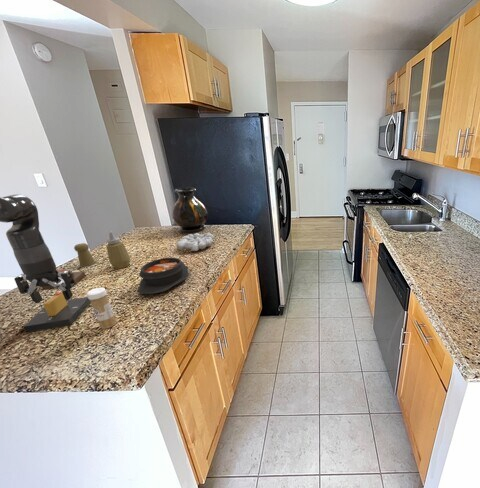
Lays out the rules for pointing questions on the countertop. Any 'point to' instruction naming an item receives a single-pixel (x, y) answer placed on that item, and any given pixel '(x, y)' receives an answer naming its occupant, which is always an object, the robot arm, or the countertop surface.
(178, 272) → the casserole
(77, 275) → the button block
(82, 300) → the dark slate board
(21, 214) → the robot arm
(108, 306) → the sprinkles bottle
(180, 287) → the countertop surface
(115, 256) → the squeeze bottle
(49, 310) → the yellow cheese wedge
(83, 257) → the green pepper mill
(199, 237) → the grey lumpy cluster
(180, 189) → the dark glazed vase
